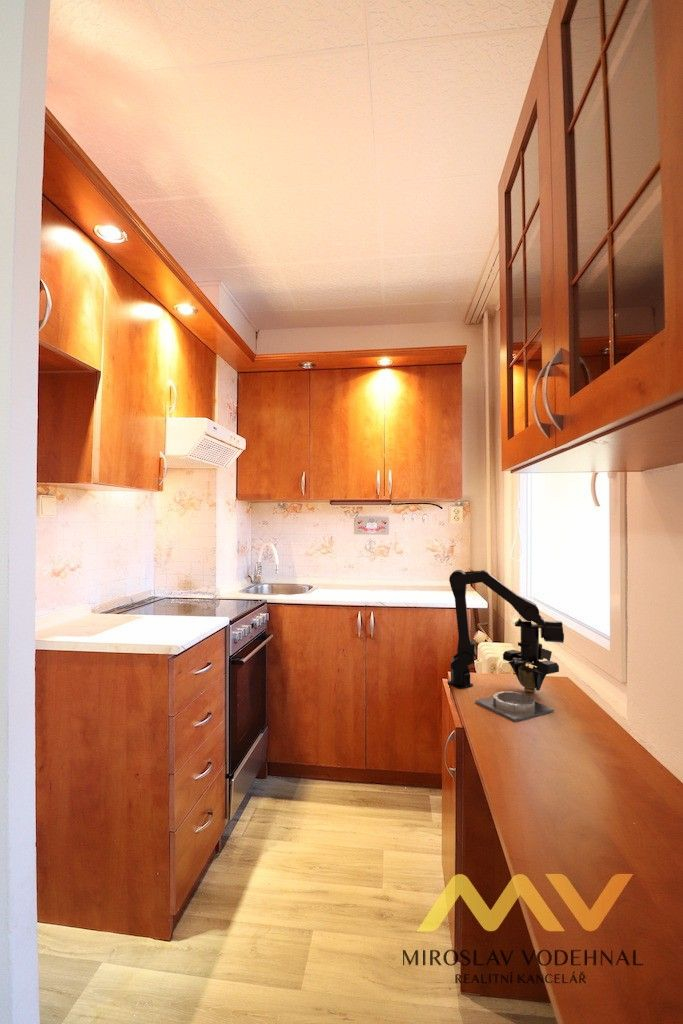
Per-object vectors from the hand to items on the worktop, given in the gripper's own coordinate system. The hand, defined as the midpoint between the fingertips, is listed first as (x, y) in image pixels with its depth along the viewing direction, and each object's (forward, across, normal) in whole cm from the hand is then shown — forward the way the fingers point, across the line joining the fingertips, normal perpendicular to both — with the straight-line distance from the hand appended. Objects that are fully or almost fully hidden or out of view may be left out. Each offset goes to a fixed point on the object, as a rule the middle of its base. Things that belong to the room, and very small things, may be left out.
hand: (529, 687), depth 159 cm
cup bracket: (+2, -7, +15) cm, 17 cm away
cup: (+2, 0, 0) cm, 2 cm away
